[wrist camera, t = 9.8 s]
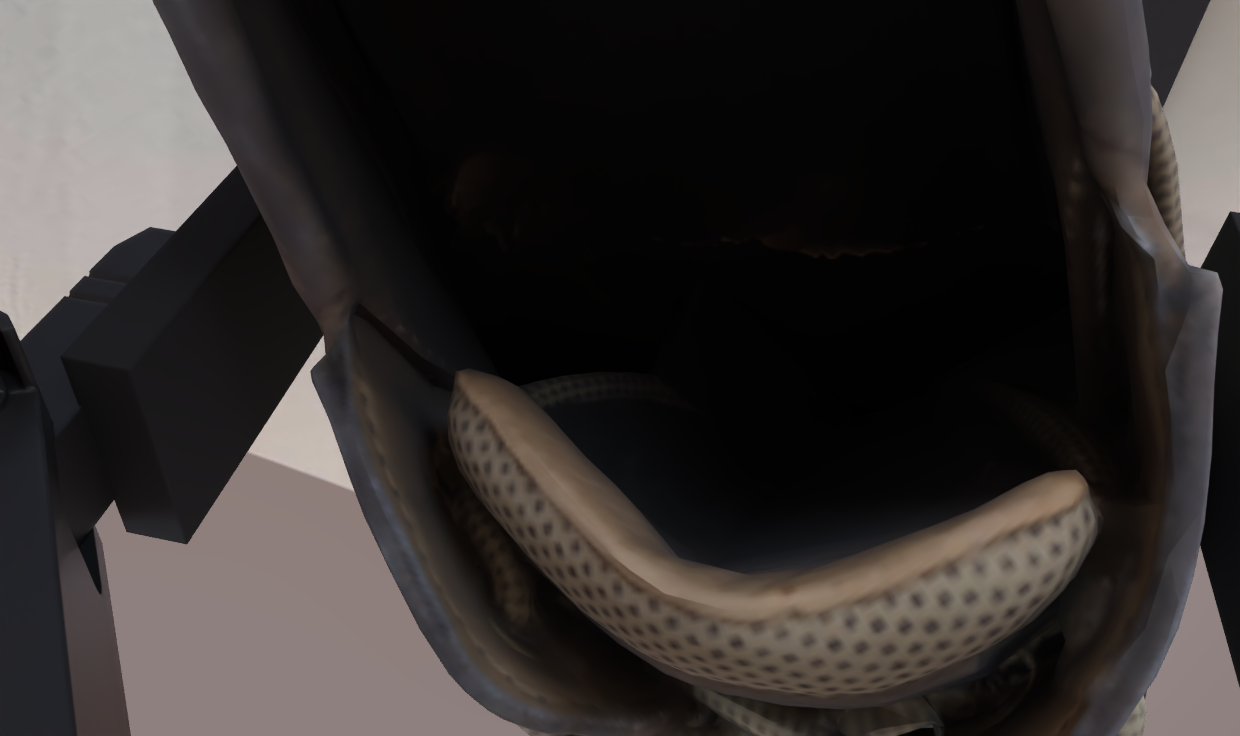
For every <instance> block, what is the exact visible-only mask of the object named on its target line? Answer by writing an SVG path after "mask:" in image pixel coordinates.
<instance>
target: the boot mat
mask: <svg viewBox="0 0 1240 736" xmlns="http://www.w3.org/2000/svg"><path fill="white" fill-rule="evenodd" d="M1209 2H1210V0H1142V5H1143V12H1144V18H1145V25H1146V31H1147V38H1148V45H1149V59H1150V67H1151V86H1152V87H1153V88H1154V90H1155V91H1156V92H1157V94H1158V97H1159V100H1160V103H1161V106H1162V108H1163V106H1164V104H1165V101H1166V99H1167V97H1168V94H1169V92H1170V90H1171V88H1172V85H1173V83H1174V81H1175V79H1176V76H1177V74H1178V72H1179V70H1180V67H1181V65H1182V63H1183V61H1184V58H1185V56H1186V54H1187V52H1188V49H1189V47H1190V45H1191V43H1192V40H1193V38H1194V36H1195V34H1196V31H1197V29H1198V27H1199V25H1200V22H1201V20H1202V18H1203V16H1204V13H1205V11H1206V9H1207V7H1208V4H1209Z"/></svg>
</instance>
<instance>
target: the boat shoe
mask: <svg viewBox="0 0 1240 736" xmlns="http://www.w3.org/2000/svg"><path fill="white" fill-rule="evenodd" d="M153 3H154V5H155V7H156V9H157V11H158V13H159V14H160V16H161V18H162V20H163V22H164V24H165V26H166V28H167V30H168V32H169V34H170V36H171V39H172V41H173V43H174V45H175V47H176V49H177V51H178V54H179V56H180V58H181V60H182V62H183V64H184V66H185V69H186V71H187V73H188V75H189V77H190V79H191V82H192V84H193V86H194V88H195V90H196V92H197V94H198V96H199V98H200V99H201V101H202V103H203V105H204V106H205V108H206V110H207V112H208V113H209V115H210V117H211V118H212V120H213V122H214V124H215V125H216V127H217V129H218V131H219V132H220V134H221V136H222V137H223V139H224V141H225V143H226V144H227V146H228V148H229V150H230V152H231V154H232V156H233V158H234V160H235V162H236V164H237V166H238V168H239V170H240V172H241V174H242V176H243V178H244V180H245V182H246V184H247V186H248V188H249V190H250V192H251V194H252V196H253V198H254V200H255V202H256V204H257V206H258V208H259V210H260V212H261V214H262V216H263V218H264V220H265V222H266V224H267V226H268V228H269V230H270V232H271V234H272V236H273V238H274V241H275V243H276V246H277V248H278V250H279V253H280V255H281V258H282V260H283V263H284V265H285V267H286V270H287V272H288V275H289V277H290V280H291V282H292V284H293V286H294V287H295V289H296V290H297V292H298V293H299V295H300V296H301V298H302V299H303V301H304V302H305V304H306V305H307V307H308V308H309V310H310V311H311V313H312V314H313V316H314V317H315V319H316V320H317V322H318V324H319V326H320V328H321V331H322V333H323V335H324V342H325V353H326V355H325V356H324V357H323V358H322V359H321V360H320V361H319V362H318V363H317V364H316V365H315V366H314V367H313V368H312V370H311V371H310V372H311V377H312V382H313V384H314V387H315V389H316V391H317V393H318V395H319V398H320V400H321V402H322V404H323V407H324V409H325V411H326V413H327V416H328V418H329V420H330V423H331V426H332V429H333V432H334V435H335V437H336V440H337V443H338V446H339V449H340V452H341V454H342V457H343V460H344V463H345V466H346V469H347V471H348V474H349V477H350V480H351V483H352V485H353V488H354V491H355V493H356V496H357V498H358V501H359V504H360V506H361V509H362V512H363V514H364V517H365V519H366V521H367V523H368V525H369V527H370V529H371V531H372V534H373V536H374V538H375V540H376V542H377V544H378V546H379V548H380V551H381V553H382V555H383V557H384V559H385V561H386V563H387V565H388V567H389V569H390V572H391V573H392V575H393V577H394V579H395V581H396V583H397V585H398V587H399V589H400V591H401V593H402V595H403V597H404V599H405V601H406V603H407V605H408V607H409V609H410V611H411V613H412V615H413V617H414V618H415V621H416V622H417V624H418V626H419V628H420V630H421V632H422V633H423V635H424V636H425V638H426V639H427V641H428V642H429V644H430V645H431V647H432V649H433V650H434V652H435V653H436V655H437V656H438V658H439V659H440V661H441V662H442V664H443V665H444V667H445V669H446V670H447V672H448V673H449V675H450V676H451V677H452V678H453V679H454V680H455V681H456V682H457V683H458V684H459V685H460V686H461V687H462V689H463V690H464V691H465V692H466V693H467V694H469V695H470V696H471V697H472V698H473V699H474V700H476V701H477V702H478V703H479V704H481V705H482V706H483V707H485V708H486V709H487V710H489V711H490V712H492V713H494V714H495V715H497V716H499V717H500V718H502V719H504V720H507V721H509V722H512V723H514V724H516V725H518V726H519V727H520V728H521V729H523V730H524V731H525V732H526V733H527V734H529V735H530V736H1142V735H1143V733H1144V725H1145V715H1146V707H1145V697H1146V692H1147V689H1148V688H1149V686H1150V685H1151V683H1152V682H1153V681H1154V679H1155V678H1156V676H1157V674H1158V671H1159V669H1160V667H1161V665H1162V663H1163V661H1164V659H1165V656H1166V654H1167V652H1168V650H1169V647H1170V645H1171V643H1172V641H1173V639H1174V637H1175V634H1176V632H1177V630H1178V628H1179V624H1180V621H1181V618H1182V614H1183V610H1184V607H1185V604H1186V601H1187V597H1188V593H1189V590H1190V587H1191V583H1192V580H1193V576H1194V571H1195V567H1196V561H1197V557H1198V552H1199V547H1200V543H1201V538H1202V533H1203V528H1204V523H1205V514H1206V504H1207V494H1208V485H1209V475H1210V465H1211V456H1212V430H1213V403H1214V380H1215V367H1216V354H1217V341H1218V328H1219V320H1220V311H1221V302H1222V294H1223V288H1222V285H1221V282H1220V279H1219V276H1218V273H1217V272H1213V271H1209V270H1205V269H1202V268H1198V267H1194V266H1190V265H1188V263H1187V262H1186V258H1185V250H1184V240H1183V227H1182V214H1181V202H1180V189H1179V176H1178V164H1177V160H1176V156H1175V152H1174V148H1173V143H1172V139H1171V135H1170V131H1169V127H1168V123H1167V120H1166V117H1165V114H1164V111H1163V108H1162V106H1161V103H1160V100H1159V97H1158V94H1157V92H1156V91H1155V90H1154V88H1153V87H1152V86H1151V67H1150V59H1149V45H1148V38H1147V31H1146V25H1145V18H1144V12H1143V5H1142V0H153Z"/></svg>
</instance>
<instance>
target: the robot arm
mask: <svg viewBox="0 0 1240 736" xmlns="http://www.w3.org/2000/svg"><path fill="white" fill-rule="evenodd" d="M1201 268H1202V269H1205V270H1209V271H1213V272H1217V273H1218V276H1219V279H1220V282H1221V285H1222V288H1223V294H1222V302H1221V311H1220V320H1219V328H1218V341H1217V354H1216V367H1215V380H1214V403H1213V430H1212V456H1211V465H1210V475H1209V485H1208V494H1207V504H1206V514H1205V523H1204V528H1203V533H1202V538H1201V543H1200V546H1201V550H1202V553H1203V557H1204V560H1205V564H1206V568H1207V571H1208V575H1209V578H1210V582H1211V586H1212V589H1213V593H1214V597H1215V600H1216V604H1217V607H1218V611H1219V614H1220V618H1221V622H1222V625H1223V629H1224V633H1225V636H1226V640H1227V643H1228V647H1229V651H1230V654H1231V658H1232V661H1233V665H1234V669H1235V672H1236V676H1237V679H1238V683H1239V687H1240V213H1237V212H1231V211H1230V213H1229V215H1228V217H1227V219H1226V220H1225V222H1224V224H1223V226H1222V228H1221V230H1220V232H1219V234H1218V236H1217V238H1216V240H1215V242H1214V243H1213V245H1212V247H1211V249H1210V251H1209V253H1208V255H1207V257H1206V259H1205V261H1204V263H1203V264H1202V266H1201ZM89 272H90V274H89V276H88V277H87V276H84V277H83V278H82V279H81V280H80V281H79V282H78V283H77V284H76V285H75V286H74V287H73V288H72V289H71V290H70V295H69V297H66V296H64V297H63V298H62V299H61V300H60V302H59V303H58V304H57V305H56V306H55V307H54V308H53V309H52V310H51V311H50V312H49V313H48V314H47V315H46V316H45V317H44V318H43V319H42V320H41V321H40V322H39V323H38V324H37V325H36V326H35V327H34V328H33V329H32V330H31V331H30V332H29V333H28V334H27V335H26V336H25V337H24V338H23V339H22V340H21V341H20V340H19V338H18V335H17V333H16V331H15V328H14V326H13V324H12V322H11V320H10V318H9V316H8V315H7V314H5V313H3V312H1V311H0V736H131V734H130V727H129V720H128V713H127V707H126V700H125V693H124V687H123V680H122V673H121V666H120V660H119V654H118V646H117V639H116V633H115V627H114V619H113V612H112V606H111V600H110V592H109V586H108V580H107V572H106V566H105V559H104V552H103V546H102V542H101V539H100V537H99V534H98V532H97V529H96V527H95V524H96V523H97V521H98V520H99V519H100V518H101V516H102V515H103V514H104V512H105V511H106V510H107V508H108V507H109V506H110V504H111V503H112V502H113V500H115V502H116V505H117V508H118V510H119V513H120V516H121V518H122V521H123V523H124V526H125V529H126V532H130V533H134V534H139V535H144V536H149V537H154V538H159V539H164V540H168V541H174V542H178V543H183V544H188V542H189V541H190V539H191V538H192V535H193V534H194V533H195V531H196V530H197V528H198V527H199V525H200V524H201V522H202V520H203V519H204V518H205V516H206V514H207V513H208V511H209V510H210V508H211V507H212V505H213V504H214V502H215V501H216V499H217V498H218V496H219V495H220V493H221V491H222V490H223V488H224V487H225V485H226V484H227V482H228V481H229V479H230V478H231V476H232V474H233V473H234V471H235V470H236V468H237V467H238V465H239V463H240V462H241V461H242V459H243V458H244V456H245V455H246V453H247V451H248V450H249V448H250V447H251V445H252V444H253V442H254V441H255V439H256V438H257V436H258V435H259V433H260V432H261V430H262V428H263V427H264V425H265V424H266V422H267V421H268V419H269V418H270V416H271V415H272V413H273V412H274V410H275V408H276V407H277V405H278V404H279V402H280V401H281V399H282V398H283V396H284V395H285V393H286V392H287V390H288V388H289V387H290V385H291V384H292V382H293V381H294V379H295V378H296V376H297V375H298V373H299V372H300V370H301V369H302V367H303V365H304V364H305V362H306V361H307V359H308V358H309V356H310V355H311V353H312V352H313V350H314V349H315V347H316V345H317V344H318V342H319V341H320V339H321V338H322V336H323V333H322V331H321V328H320V326H319V324H318V322H317V320H316V319H315V317H314V316H313V314H312V313H311V311H310V310H309V308H308V307H307V305H306V304H305V302H304V301H303V299H302V298H301V296H300V295H299V293H298V292H297V290H296V289H295V287H294V286H293V284H292V282H291V280H290V277H289V275H288V272H287V270H286V267H285V265H284V263H283V260H282V258H281V255H280V253H279V250H278V248H277V246H276V243H275V241H274V238H273V236H272V234H271V232H270V230H269V228H268V226H267V224H266V222H265V220H264V218H263V216H262V214H261V212H260V210H259V208H258V206H257V204H256V202H255V200H254V198H253V196H252V194H251V192H250V190H249V188H248V186H247V184H246V182H245V180H244V178H243V176H242V174H241V172H240V170H239V168H238V166H236V167H235V168H234V169H233V170H232V172H231V173H230V174H229V175H228V176H227V177H226V178H225V179H224V180H223V181H222V182H221V183H220V184H219V186H218V187H217V188H216V189H215V190H214V191H213V192H212V193H211V194H210V195H209V196H208V197H207V198H206V200H205V201H204V202H203V203H202V204H201V205H200V206H199V207H198V208H197V209H196V210H195V211H194V212H193V214H192V215H191V216H190V217H189V218H188V219H187V220H186V221H185V222H184V223H183V224H182V225H181V227H180V228H179V229H178V230H177V231H170V230H164V229H158V228H153V227H149V228H148V229H146V230H144V231H142V232H140V233H138V234H136V235H134V236H133V237H131V238H129V239H127V240H125V241H123V242H121V243H119V244H118V245H116V246H114V247H113V248H112V249H111V250H110V251H109V252H108V253H107V254H106V255H105V256H104V257H103V258H102V259H101V260H100V261H99V262H98V263H97V264H96V265H95V266H94V267H93V268H92V269H91V270H90V271H89Z"/></svg>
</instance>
